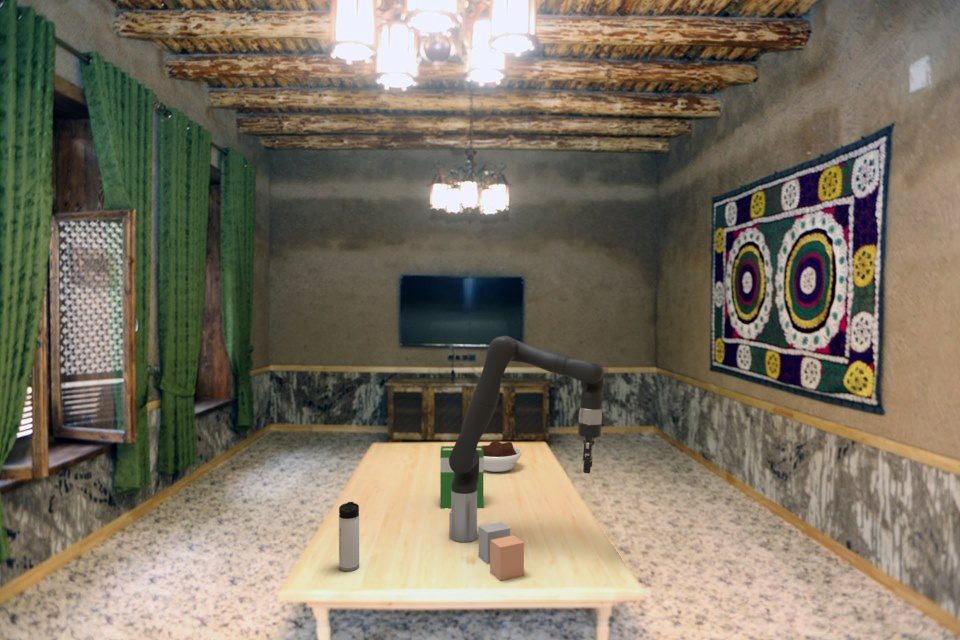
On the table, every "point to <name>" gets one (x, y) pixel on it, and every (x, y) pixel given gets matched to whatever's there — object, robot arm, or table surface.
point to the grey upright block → (490, 538)
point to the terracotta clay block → (506, 557)
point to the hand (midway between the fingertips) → (587, 469)
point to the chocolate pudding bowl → (500, 456)
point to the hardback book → (448, 476)
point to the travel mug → (349, 536)
